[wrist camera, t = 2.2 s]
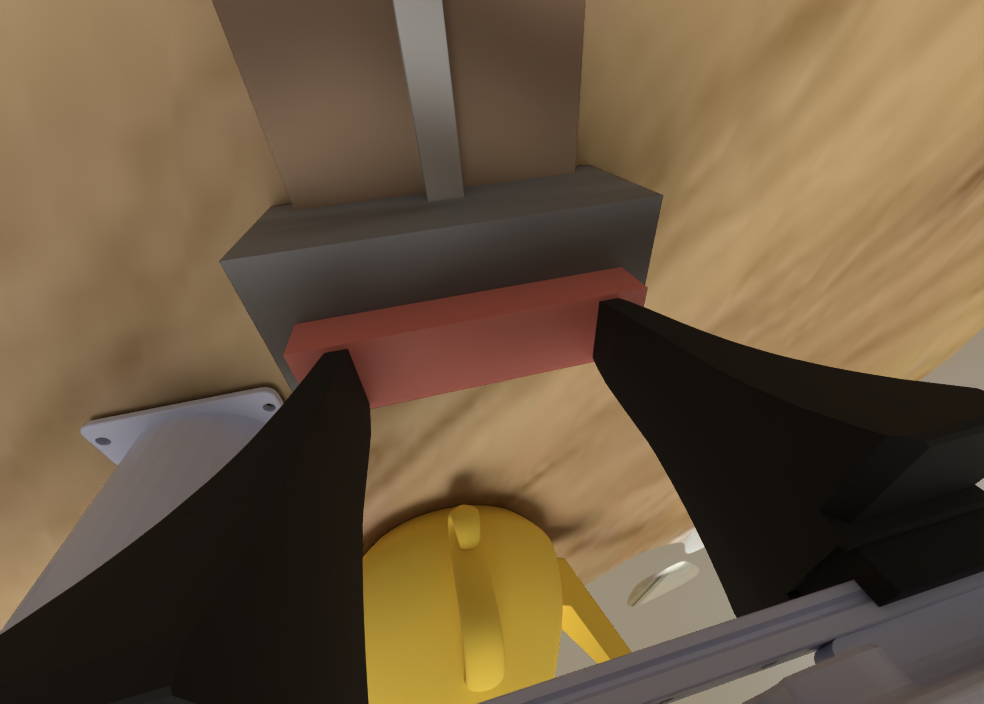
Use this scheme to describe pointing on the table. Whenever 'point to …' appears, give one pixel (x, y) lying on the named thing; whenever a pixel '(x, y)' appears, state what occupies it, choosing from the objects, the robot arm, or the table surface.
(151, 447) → the robot arm
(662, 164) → the table surface
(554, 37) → the rail stand
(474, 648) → the teapot
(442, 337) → the bar
